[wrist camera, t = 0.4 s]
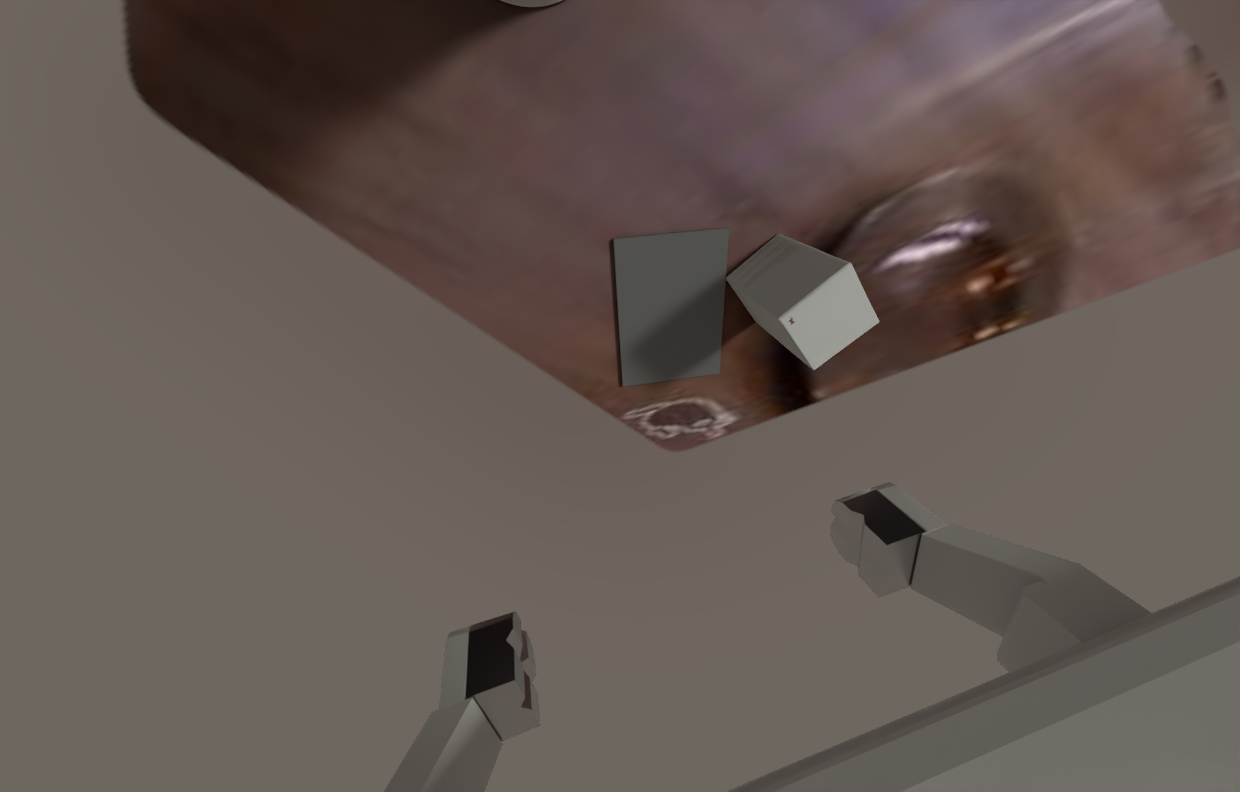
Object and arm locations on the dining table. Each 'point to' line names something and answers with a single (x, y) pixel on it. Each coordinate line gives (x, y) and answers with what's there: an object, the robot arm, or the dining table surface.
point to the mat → (670, 304)
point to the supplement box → (804, 298)
